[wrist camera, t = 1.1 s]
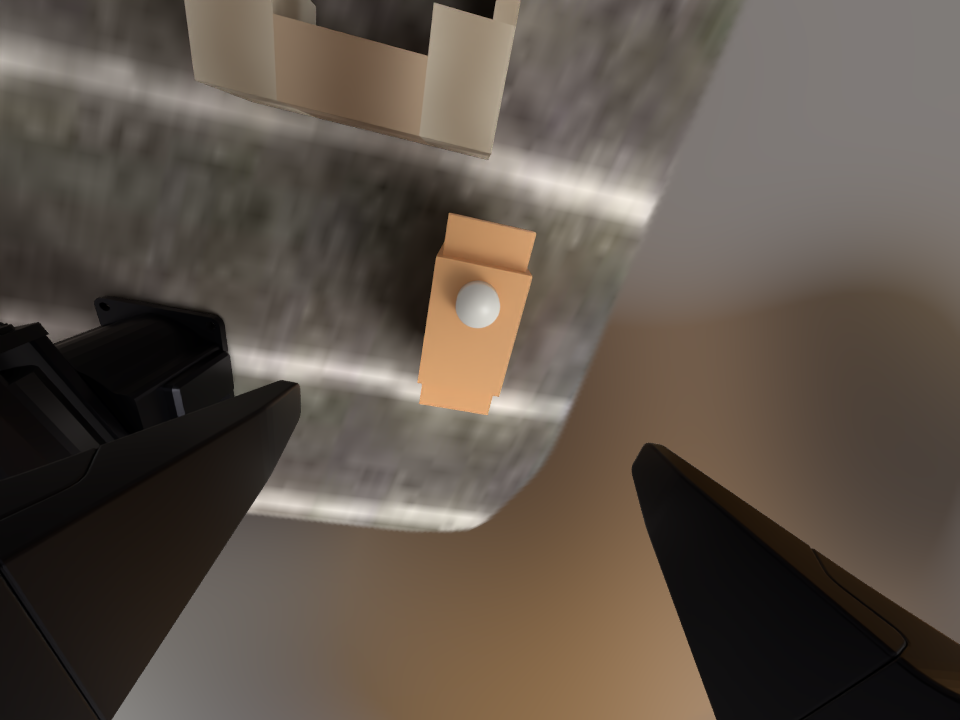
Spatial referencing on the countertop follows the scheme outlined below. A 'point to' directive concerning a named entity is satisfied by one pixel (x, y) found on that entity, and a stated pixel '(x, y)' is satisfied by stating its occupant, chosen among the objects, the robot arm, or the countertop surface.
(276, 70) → the beige notched square frame
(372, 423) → the countertop surface
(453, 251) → the block
